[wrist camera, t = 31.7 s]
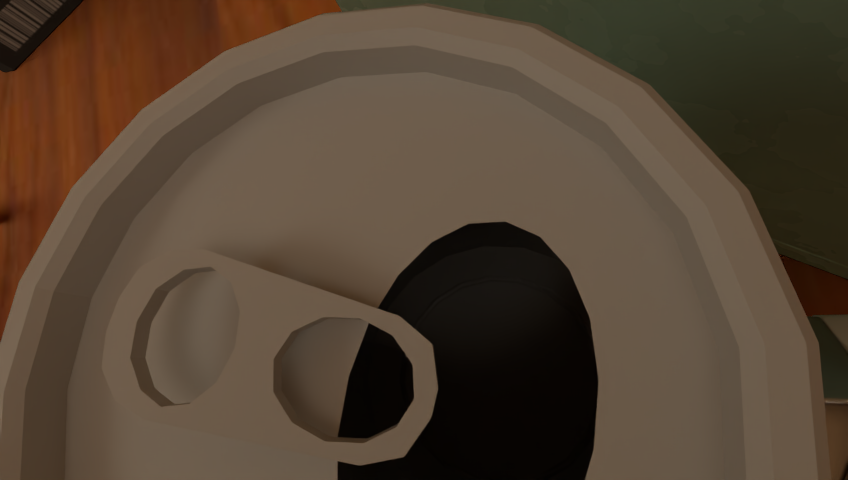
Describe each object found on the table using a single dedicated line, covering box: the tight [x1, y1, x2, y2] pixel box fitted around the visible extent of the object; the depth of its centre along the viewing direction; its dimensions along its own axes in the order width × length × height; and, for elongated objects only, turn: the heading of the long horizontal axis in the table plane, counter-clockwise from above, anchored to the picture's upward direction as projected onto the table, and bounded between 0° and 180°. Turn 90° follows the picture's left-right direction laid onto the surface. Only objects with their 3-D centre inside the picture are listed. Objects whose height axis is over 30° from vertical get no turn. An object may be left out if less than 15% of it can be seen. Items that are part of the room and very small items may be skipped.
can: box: [0, 3, 831, 480], centre depth 9 cm, size 8×8×12 cm
